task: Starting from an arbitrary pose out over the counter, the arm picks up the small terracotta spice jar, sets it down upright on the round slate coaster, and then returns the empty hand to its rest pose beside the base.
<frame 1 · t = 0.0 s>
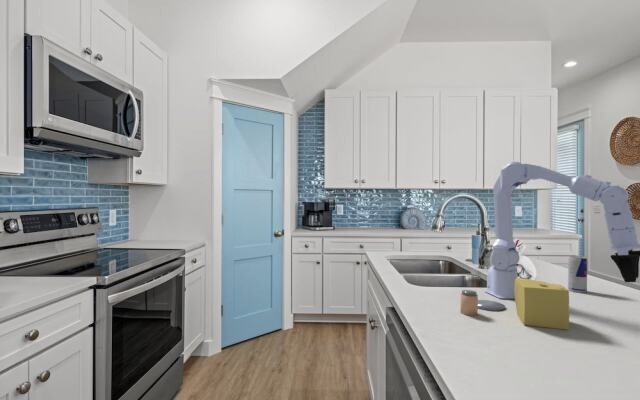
hand: (631, 279, 94), 11 cm above the countertop, tool pointing down, fingers open, 7 cm apart
coaster: (488, 306, 105), on the countertop
energy drink: (577, 291, 124), on the countertop
spice jar: (468, 313, 98), on the countertop
cheese: (540, 322, 92), on the countertop
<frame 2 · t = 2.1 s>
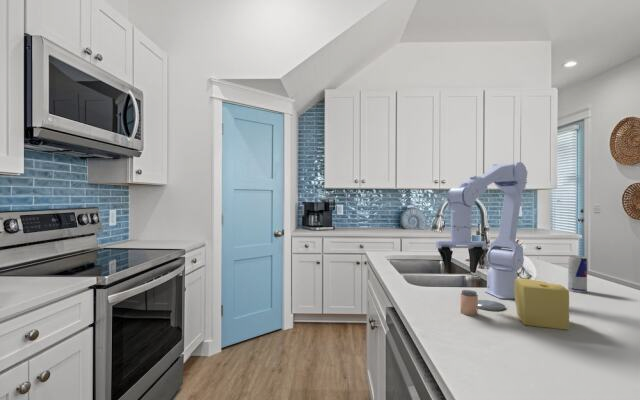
hand: (460, 272, 105), 10 cm above the countertop, tool pointing down, fingers open, 7 cm apart
nothing on the countertop moved.
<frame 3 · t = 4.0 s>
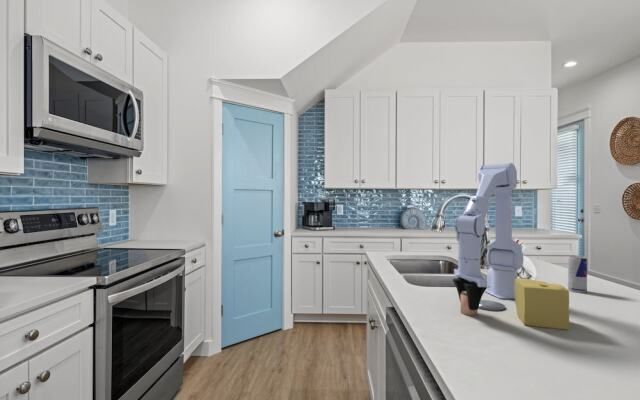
hand: (468, 306, 98), 2 cm above the countertop, tool pointing down, fingers closed on spice jar, 4 cm apart
spice jar: (468, 313, 98), on the countertop, touching gripper
everything else where it was.
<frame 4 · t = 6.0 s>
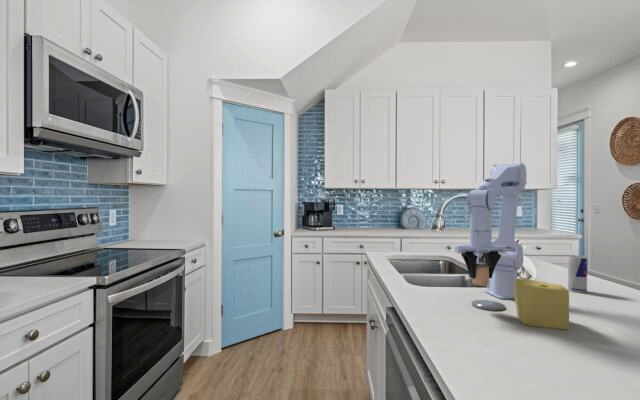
hand: (480, 277, 102), 9 cm above the countertop, tool pointing down, fingers closed on spice jar, 4 cm apart
spice jar: (480, 283, 102), point 7 cm above the countertop, touching gripper
everything else where it was.
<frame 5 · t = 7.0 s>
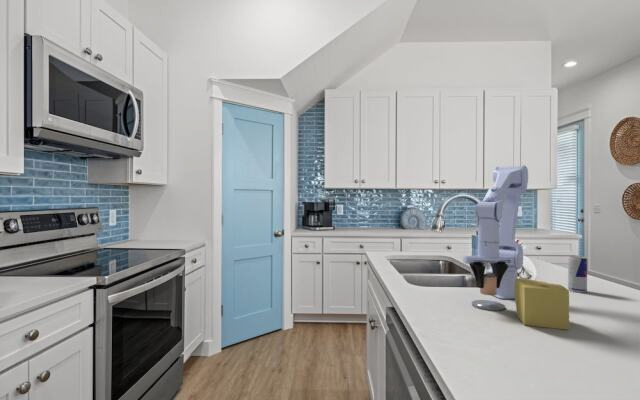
hand: (488, 287, 105), 6 cm above the countertop, tool pointing down, fingers closed on spice jar, 4 cm apart
spice jar: (488, 293, 105), point 4 cm above the countertop, touching gripper
everything else where it was.
when the fingers open (3 cm above the countertop, at t = 7.9 s): spice jar stays where it is, resting on coaster.
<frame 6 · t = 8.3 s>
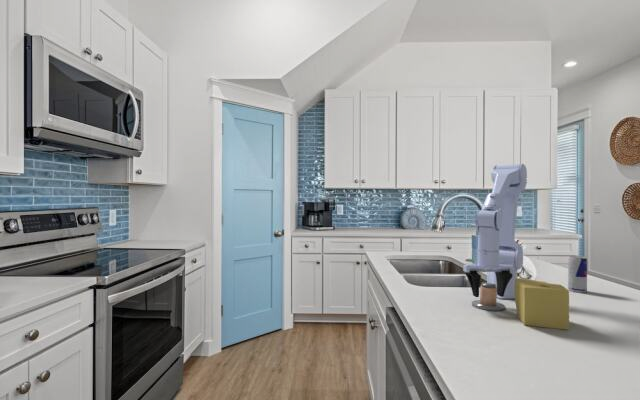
hand: (488, 296, 105), 3 cm above the countertop, tool pointing down, fingers open, 7 cm apart
spice jar: (488, 304, 105), point 1 cm above the countertop, touching coaster
everything else where it was.
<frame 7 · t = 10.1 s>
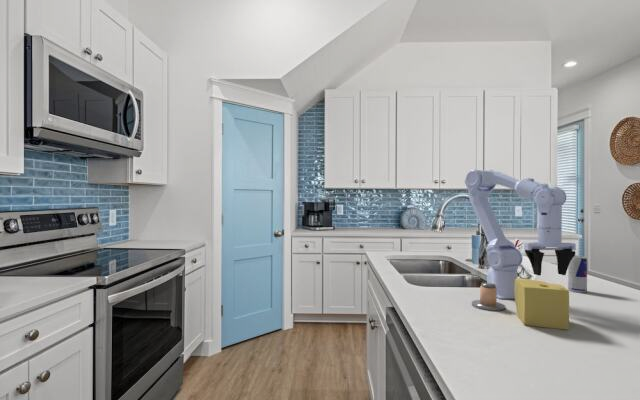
hand: (549, 274, 103), 10 cm above the countertop, tool pointing down, fingers open, 7 cm apart
nothing on the countertop moved.
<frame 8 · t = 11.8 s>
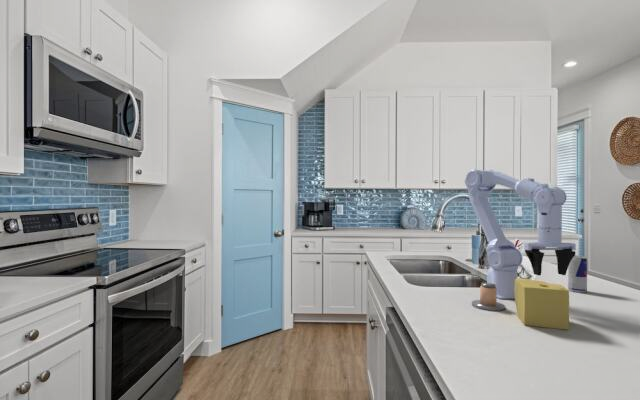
hand: (549, 274, 103), 10 cm above the countertop, tool pointing down, fingers open, 7 cm apart
nothing on the countertop moved.
at the end: spice jar 0.1 cm from the coaster (horizontally); spice jar tilted 0°; the gripper is holding nothing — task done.
